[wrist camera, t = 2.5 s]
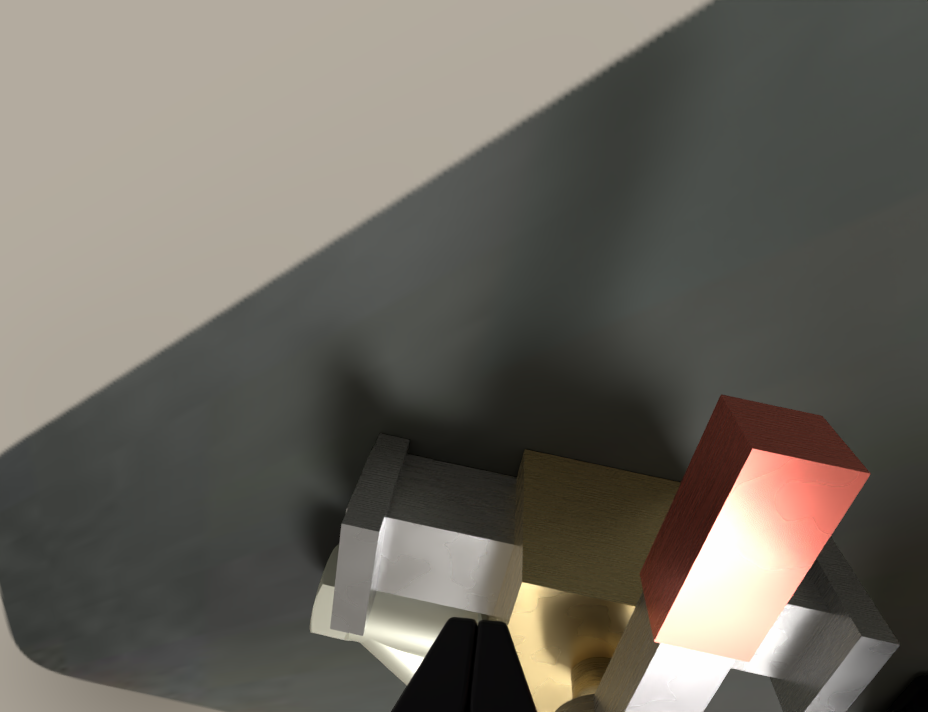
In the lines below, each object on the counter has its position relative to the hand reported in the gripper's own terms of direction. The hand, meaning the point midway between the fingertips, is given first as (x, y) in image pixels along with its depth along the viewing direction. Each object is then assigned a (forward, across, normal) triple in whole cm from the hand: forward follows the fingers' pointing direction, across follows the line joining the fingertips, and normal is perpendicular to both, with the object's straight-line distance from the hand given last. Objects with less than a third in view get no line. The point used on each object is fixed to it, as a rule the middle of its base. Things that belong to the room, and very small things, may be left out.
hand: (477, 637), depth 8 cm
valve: (+12, -3, +9) cm, 16 cm away
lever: (+4, -4, +5) cm, 8 cm away
